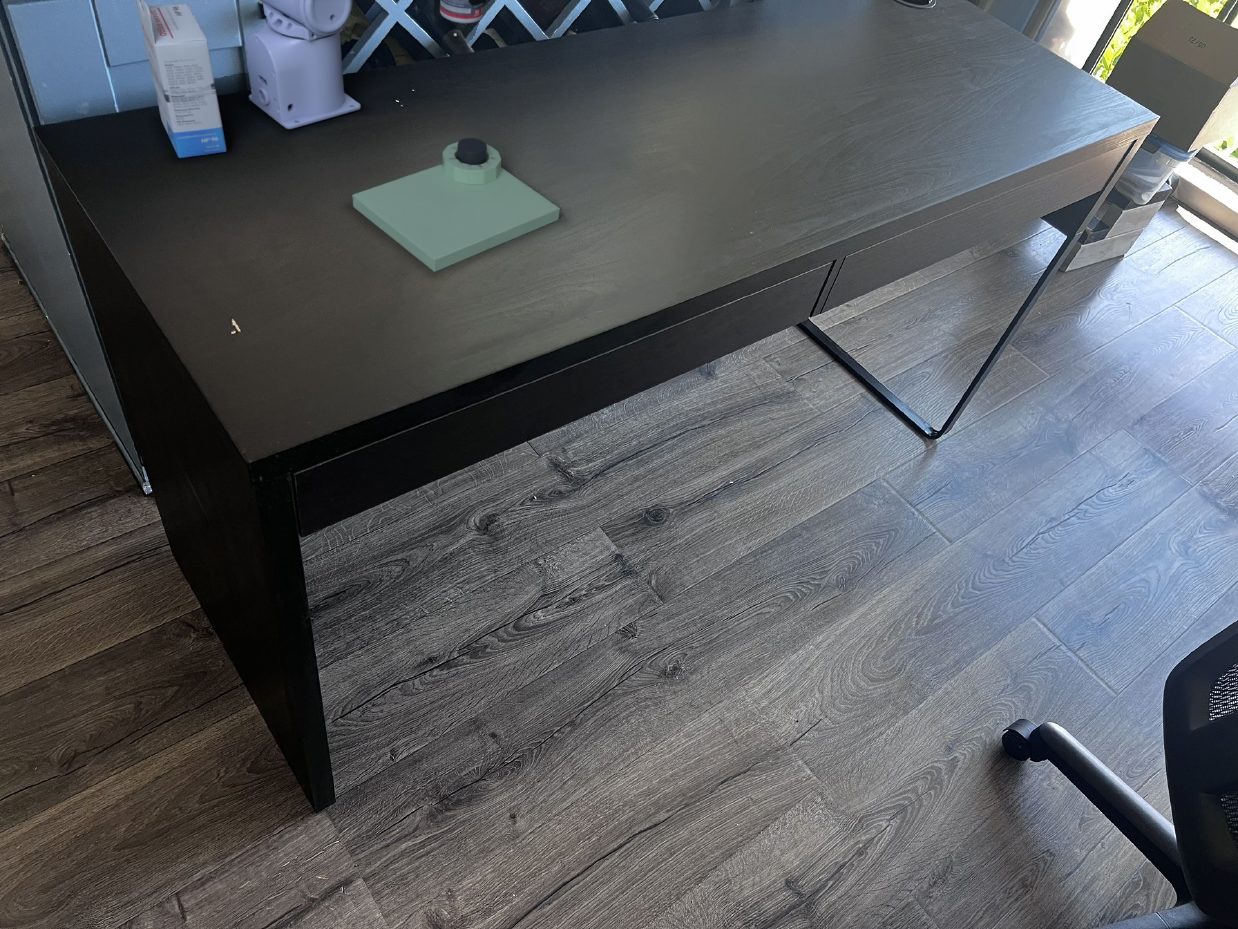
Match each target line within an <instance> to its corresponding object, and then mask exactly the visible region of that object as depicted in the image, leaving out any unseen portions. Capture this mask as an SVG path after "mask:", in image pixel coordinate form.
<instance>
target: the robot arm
mask: <svg viewBox="0 0 1238 929" xmlns="http://www.w3.org/2000/svg"><path fill="white" fill-rule="evenodd" d="M259 1H260V2H261V3H262V5H263V6H262V7H263V13H264V16H266V19H267V21H266V23H265V24H264V25H263V26H262V27H261V28H259V29H257V30H255V31H254V32H251V33H249V34H247V36H246V37H245V42H244V46H245V47H244V50H245V51H244V52H245V57H246V58H245V59H246V64H247V73H248V78H249V85H250V86H249V87H250V91H251V92H250V93H251V94H249V95H248V99H249V101H251V103H253V104H254V105H255V106H256V107H257V108H259V109H261V110H262V111H263V112H264V113H266V114H267V115H268V116H269V117H271V118H272V119H273V120H275V121H276V122H277V123H278V124H280V125H281V126H282V127H284V128H285V129H286V130H293V129H297V128H299V127H303V126H307V125H311V124H314V123H317V122H321V121H324V120H328V119H331V118H335V117H339V116H343V115H345V114H350V113H352V112H356V111H360V110H361V109H362V106H361V103H359V102H358V101H356V100H355V99H353V98H352V96H350V95H348V94H347V93H345V89H344V88H345V87H344V74H343V61H342V48H341V46H342V45H341V35H340V34H341V33H342V32H343V31H344V30H343V27H344V26H345V25H346V23H347V22H348V20H349V17H350V15H351V12H352V8H353V0H259ZM486 1H487V0H469V3H470V4H472V5H476V4H480V3H483V4H484V3H486Z"/></svg>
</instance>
